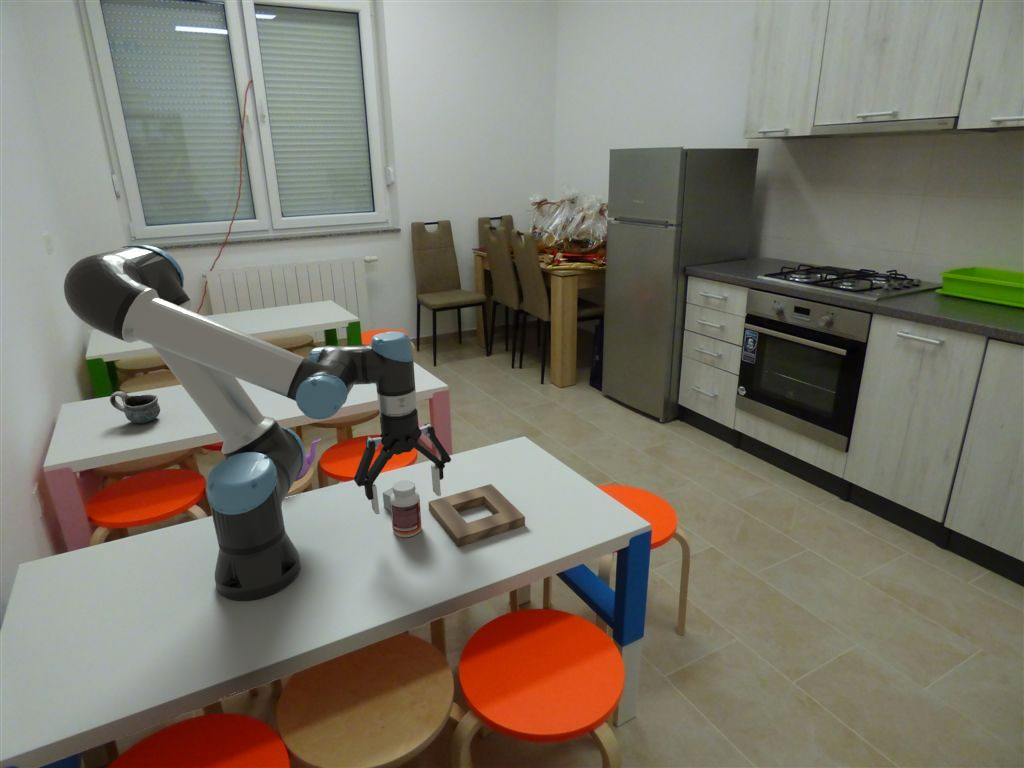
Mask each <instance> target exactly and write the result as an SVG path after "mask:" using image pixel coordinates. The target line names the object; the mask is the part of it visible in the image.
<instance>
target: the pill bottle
mask: <svg viewBox="0 0 1024 768" xmlns="http://www.w3.org/2000/svg"><path fill="white" fill-rule="evenodd" d="M392 488H393V494H392V495H391V497H390V505H391V511H390V515H391V525H392V526H391V527H392V532H393V534H394V535H396V536H397V537H399V538H410V537H413V536H416V535H417V534H419V533H420V531H421V530H422V515H421V513H422V512H421V501H420V500H421V498H420V494H419V492H418V491H417V490H416V489H417V488H416V484H415V482H414V481H413V480H411V479H402V480H398V481H396V482H394V483H393V485H392Z"/></svg>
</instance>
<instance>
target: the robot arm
mask: <svg viewBox="0 0 1024 768" xmlns="http://www.w3.org/2000/svg"><path fill="white" fill-rule="evenodd" d="M184 281H185V276H184V273H183V270H182V268H181V265H180V264H179V263H178V262H177V261H176V259H175V258H174V257H173V256H172V255H170V254H169V253H168V252H166V251H164V250H163V249H161V248H158V247H157V246H156V247H155V246H152V245H147V244H136V245H135V244H133V245H129V244H128V245H124V246H121V247H119V248H116V249H112V250H109V251H105V252H100V253H98V254H92V255H89V256H86V257H84V258H82V259H80V260H78V261H77V262H76V263H74V264H73V265H72V266H71V267H70V269H69V270H68V272H67V273H66V275H65V278H64V282H63V292H64V293H63V294H64V297H65V301H66V303H67V305H68V306H69V308H70V310H71V311H72V312H73V313H74V315H76V317H77V318H79V320H81V321H83V322H84V323H85V324H87V325H88V326H91V327H92V328H94V329H96V330H97V331H99V332H100V333H101V332H102V333H104V334H105V335H108V336H110V337H113V338H116V339H118V340H120V341H123V342H125V343H129V344H131V343H134V342H138V341H141V342H144V343H146V344H149V345H151V346H152V347H153V349H154V350H155V352H156V353H157V354H158V356H159V357H160V358H161V359H162V361H163V363H165V365H166V366H167V367H168V369H169V370H170V371H171V373H172V374H173V376H174V377H175V378H176V380H177V381H178V382H179V383H180V385H181V386H182V387H183V389H184V390H185V391H186V393H187V394H188V396H190V398H191V399H192V401H194V403H195V405H196V406H197V407H198V408H199V410H200V411H201V412H202V414H203V415H204V417H206V419H207V420H208V421H209V424H211V425H212V427H213V429H214V430H215V431H216V432H217V434H218V435H219V436H220V438H221V439H222V440H223V443H222V448H221V453H222V454H223V456H224V457H225V458H226V459H223V460H220V461H219V462H217V464H216V465H214V466H213V468H211V470H210V471H209V473H208V474H207V478H206V489H207V490H206V491H207V492H206V496H207V501H208V504H209V507H210V512H211V516H212V520H213V526H214V529H215V535H216V539H217V544H218V553H217V559H216V565H215V570H214V582H215V586H216V589H217V591H218V593H219V594H220V595H222V596H223V597H224V598H227V599H230V600H234V601H253V600H259V599H262V598H266V597H269V596H271V595H273V594H276V593H278V592H280V591H282V590H283V589H285V588H286V587H288V586H289V585H290V584H291V583H293V582H294V580H295V579H296V578H297V576H298V574H299V573H300V570H301V559H300V555H299V552H298V549H297V548H296V547H295V545H294V543H293V541H292V540H291V538H290V537H289V535H288V534H287V533H288V532H287V531H286V527H285V521H284V515H283V514H284V513H283V509H282V507H283V502H284V500H285V498H286V497H287V495H288V494H289V491H290V490H291V488H292V486H293V485H294V483H295V482H296V481H295V479H297V477H298V476H299V474H300V472H301V470H302V467H303V463H304V460H305V454H306V451H305V449H306V448H305V445H304V442H303V440H302V439H301V438H300V436H299V435H298V434H297V433H296V432H295V431H293V429H290V428H288V427H287V428H286V427H284V426H283V425H280V424H279V423H278V421H277V420H276V418H274V417H270V416H264V415H263V414H262V413H261V411H260V410H259V409H258V407H257V405H256V404H255V403H254V401H253V400H252V399H251V397H250V396H249V395H248V393H247V392H246V391H245V389H244V388H243V386H242V384H241V383H240V382H239V380H241V381H244V382H246V383H249V384H252V385H254V386H257V387H260V388H262V389H265V390H267V391H269V392H273V393H275V394H277V395H280V396H282V397H285V398H288V399H290V400H292V401H294V402H296V405H297V408H298V409H299V410H300V411H301V413H303V415H305V417H308V418H310V419H312V420H326V419H329V418H332V417H333V416H334V415H336V414H337V413H338V412H339V410H340V409H341V408H342V407H343V405H345V404H346V402H347V400H348V396H349V394H350V392H351V390H352V389H353V387H354V386H356V385H357V386H358V385H373V384H374V385H375V387H376V394H377V395H376V396H377V405H378V407H377V408H378V411H379V415H378V416H379V424H380V432H381V433H380V436H378V437H373V438H372V437H371V436H367V437H365V448H364V451H363V454H362V456H361V459H360V461H359V464H358V467H357V469H356V472H355V474H354V478H353V481H354V482H355V484H356V486H357V487H362V486H363V487H364V494H365V497H366V498H367V500H368V501H370V502H371V503H370V504H371V509H372V510H373V512H374V514H375V515H379V514H380V505H379V498H378V497H379V496H378V489H377V488H378V487H377V484H376V483H375V481H376V480H377V479H378V477H379V475H380V474H381V472H382V470H383V469H384V468H385V467H386V465H387V464H388V461H390V460H392V458H393V456H394V455H395V456H399V455H402V454H403V453H410V452H412V451H413V450H414V449H415V450H417V451H418V452H420V453H421V454H422V455H423V456H424V457H425V458H427V459H428V460H429V461H430V462H432V463H431V464H430V469H431V471H430V472H431V481H432V482H431V484H432V491H433V493H434V494H435V496H437V497H440V496H441V495H442V492H441V491H442V489H441V480H443V479H444V469H445V467H446V465H445V464H446V463H448V464H449V463H450V462H452V459H451V456H450V454H449V453H448V452H447V451H446V449H445V447H444V446H443V444H442V443H441V442H440V440H439V438H438V437H437V435H436V430H435V428H434V426H433V425H432V424H431V423H430V422H426V423H424V425H423V426H419V425H420V424H419V415H418V409H417V406H418V405H417V403H418V402H417V392H416V378H415V366H414V354H413V349H412V342H411V341H412V340H411V337H410V336H409V335H408V334H407V333H405V332H402V331H387V332H380V333H377V334H374V335H373V336H372V338H371V340H370V341H371V343H370V344H367V345H339V346H338V345H326V346H320V347H319V346H318V347H314V348H312V349H311V350H310V351H309V353H308V357H304V356H302V355H300V354H297V353H294V352H292V351H289V350H287V349H285V348H282V347H280V346H277V345H275V344H272V343H271V342H268V341H265V340H263V339H260V338H257V337H255V336H254V335H250V334H248V333H245V332H243V331H241V330H238V329H236V328H234V327H232V326H229V325H226V324H224V323H221V322H219V321H216V320H214V319H211V318H209V317H207V316H204V315H201V314H199V313H196V312H194V311H192V310H191V306H192V300H191V298H190V297H189V296H188V294H187V292H185V290H184V288H185V287H184V285H185V284H184V283H185V282H184ZM238 379H239V380H238ZM422 434H423V435H424V436H425V437H428V439H429V441H430V442H431V443H432V445H433V447H434V448H435V450H436V451H437V453H439V455H440V456H439V457H437V456H436V455H435V454H434V453H433V452H432V451H430V450H429V449H427V448H426V446H425V445H423V444H422V443H420V442H419V440H420V438H421V437H422ZM379 445H382V448H381V449H380V451H379V454H378V456H377V457H376V459H375V460H374V459H373V458H374V456H375V454H376V450H378V449H379ZM373 460H374V461H373ZM372 461H373V463H372ZM294 481H295V482H294Z"/></svg>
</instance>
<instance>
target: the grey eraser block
mask: <svg viewBox="0 0 1024 768" xmlns="http://www.w3.org/2000/svg"><path fill="white" fill-rule="evenodd" d="M392 494H393V487H391V488H389V489H387V490H385V491H382V500H383V508H384V509H386V510H388V511H390V512H391V505H390V497H391V495H392Z"/></svg>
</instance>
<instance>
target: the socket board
mask: <svg viewBox="0 0 1024 768" xmlns="http://www.w3.org/2000/svg"><path fill="white" fill-rule="evenodd" d="M482 505H484V506H485V508H487V509H488V510H489V512H490V513H491V515H489V516H485V517H482V518H479V519H475V520H473V521H472V520H471V521H469V522H467V521H466V520H465V519H464V518H463V517H462V515H461V514H460V513H459V512H463V511H466V510H469V509H472V508H473V509H474V508H475V507H479V506H482ZM428 511H429V512H430V513H431V514H432V517H434V518H435V520H436V521H437V522H438V524H439V525H440V526H441V527H442V529H443V530H444V532H445V533H446V534H447V535H448V536H449V538H450V539H451V540H452V542H453V543H454V544H455V545H456V547H458V548H460V547H462V546H466V545H469V544H472V543H475V542H478V541H481V540H484V539H488V538H490V537H494V536H496V535H499V534H503V533H506V532H509V531H511V530H515V529H518V528H521V527H524V526H526V516H525V515H524V514H523V513H522V511H520V510H519V509H518V508H517V507H516V506H515V505H514V504H512V502H511V501H510V500H508V498H507V497H505V495H504V494H502V493H501V492H500V491H499V490H498V489H497V488H496V486H494V485H493V484H492V483H490V484H486V485H485V484H484V485H483V486H478V487H475V488H472V489H468V490H465V491H461V492H458V493H455V494H450V495H447V496H443V497H440V498H436V499H433V500H429V501H428ZM492 514H493V515H492Z"/></svg>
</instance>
